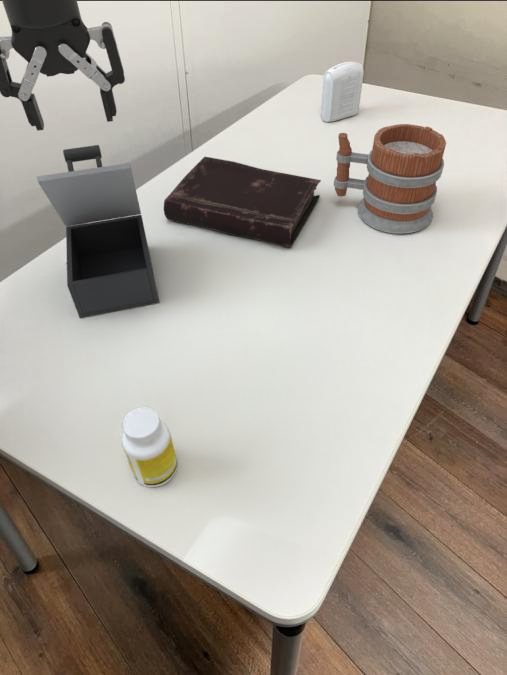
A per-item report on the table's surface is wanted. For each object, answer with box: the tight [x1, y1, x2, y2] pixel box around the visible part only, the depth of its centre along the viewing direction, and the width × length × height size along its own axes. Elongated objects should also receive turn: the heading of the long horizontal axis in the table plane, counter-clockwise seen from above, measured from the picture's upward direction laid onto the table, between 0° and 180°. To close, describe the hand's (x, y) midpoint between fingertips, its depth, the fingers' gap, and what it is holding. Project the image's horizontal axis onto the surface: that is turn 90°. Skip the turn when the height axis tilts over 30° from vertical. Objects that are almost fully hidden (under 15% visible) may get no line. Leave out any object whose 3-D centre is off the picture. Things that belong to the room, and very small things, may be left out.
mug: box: [333, 123, 447, 235], centre depth 93 cm, size 14×19×15 cm
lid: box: [36, 144, 142, 227], centre depth 78 cm, size 16×13×5 cm
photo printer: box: [320, 61, 365, 123], centre depth 123 cm, size 10×4×12 cm, turn 122°
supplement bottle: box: [121, 406, 178, 488], centre depth 58 cm, size 5×5×10 cm
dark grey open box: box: [65, 214, 160, 319], centre depth 84 cm, size 16×13×7 cm
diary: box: [163, 156, 322, 249], centre depth 98 cm, size 19×25×5 cm
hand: (76, 123), depth 64 cm, fingers open, 8 cm apart
